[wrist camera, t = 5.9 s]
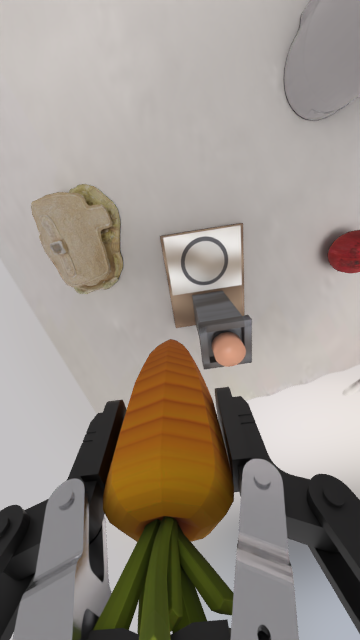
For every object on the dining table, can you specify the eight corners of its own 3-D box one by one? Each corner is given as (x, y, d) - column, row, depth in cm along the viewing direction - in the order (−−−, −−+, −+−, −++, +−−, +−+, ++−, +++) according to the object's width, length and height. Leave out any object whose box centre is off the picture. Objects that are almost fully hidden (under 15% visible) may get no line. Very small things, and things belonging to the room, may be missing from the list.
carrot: (128, 345, 17) (-44, 832, 4) (166, 302, 15) (119, 888, 2) (175, 375, 19) (177, 796, 5) (214, 339, 17) (370, 811, 3)
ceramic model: (30, 197, 28) (-35, 186, 19) (108, 178, 28) (79, 157, 19) (73, 294, 34) (39, 319, 25) (139, 279, 34) (128, 300, 25)
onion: (320, 274, 35) (360, 287, 28) (312, 241, 33) (353, 247, 25) (356, 256, 34) (407, 265, 27) (350, 222, 32) (404, 221, 24)
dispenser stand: (160, 236, 31) (154, 244, 19) (240, 223, 31) (286, 223, 19) (175, 324, 38) (178, 373, 25) (242, 314, 37) (277, 359, 25)
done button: (210, 334, 23) (213, 342, 22) (240, 329, 23) (245, 337, 22) (212, 358, 25) (215, 368, 23) (241, 354, 25) (246, 364, 23)
